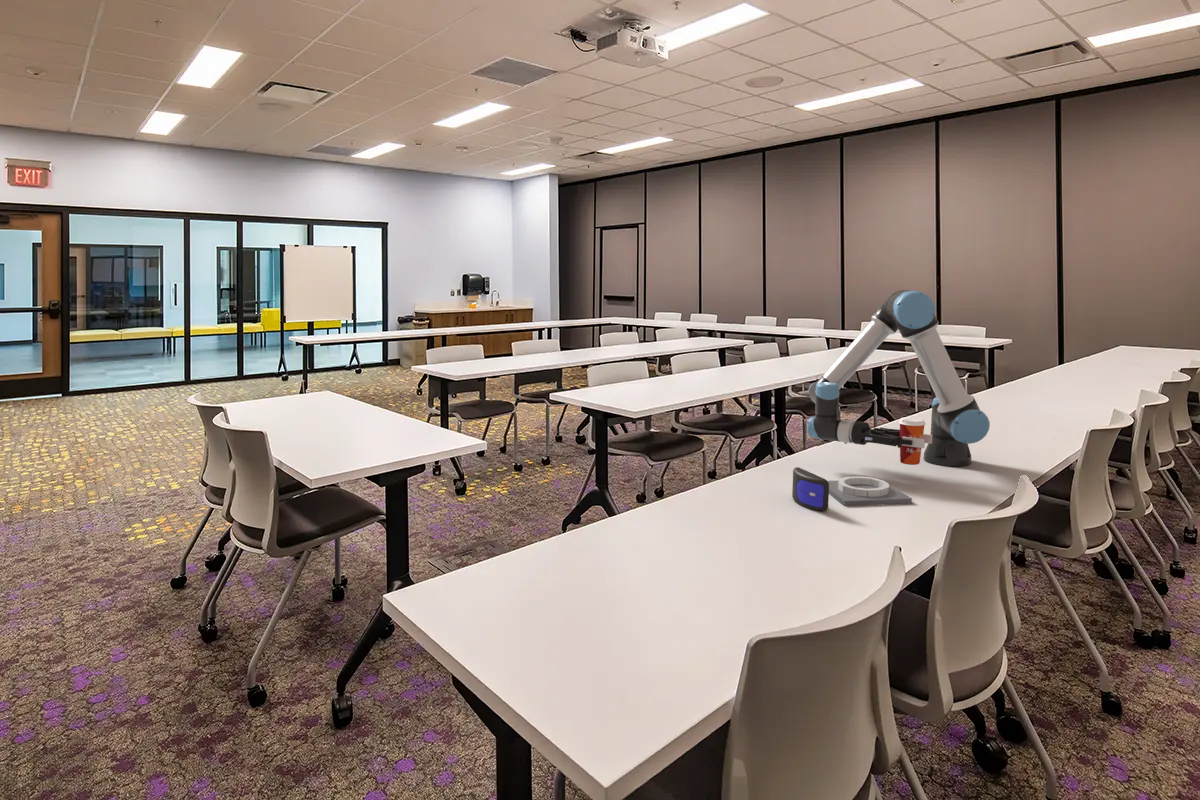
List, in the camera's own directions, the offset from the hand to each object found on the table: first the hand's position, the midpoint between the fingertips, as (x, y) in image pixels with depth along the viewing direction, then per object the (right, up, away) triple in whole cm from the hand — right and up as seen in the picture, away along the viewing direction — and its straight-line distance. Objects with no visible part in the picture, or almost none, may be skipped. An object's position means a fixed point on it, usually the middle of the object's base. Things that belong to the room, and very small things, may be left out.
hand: (928, 441), depth 215 cm
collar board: (-22, -16, -4) cm, 27 cm away
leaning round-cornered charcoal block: (-40, -18, -12) cm, 46 cm away
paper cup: (-3, -7, +5) cm, 9 cm away
